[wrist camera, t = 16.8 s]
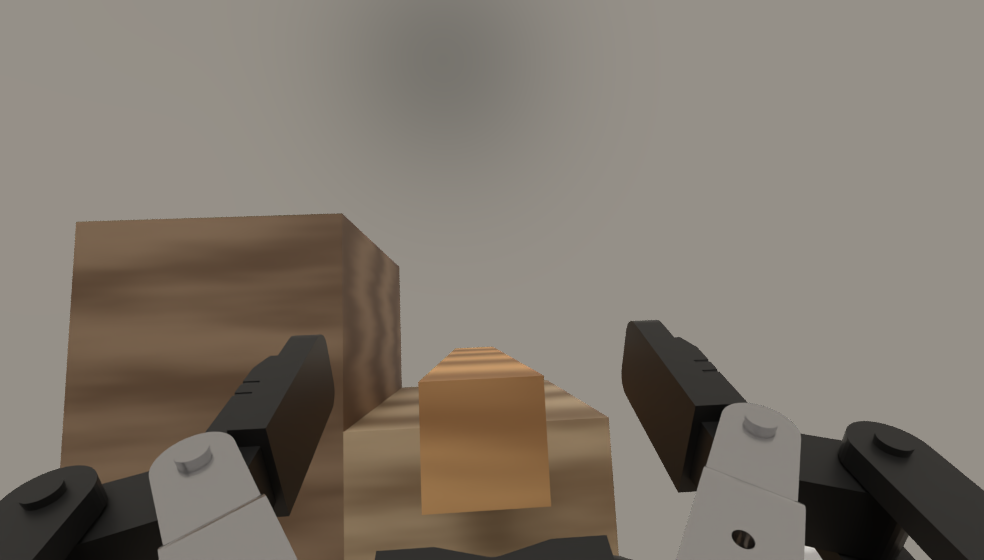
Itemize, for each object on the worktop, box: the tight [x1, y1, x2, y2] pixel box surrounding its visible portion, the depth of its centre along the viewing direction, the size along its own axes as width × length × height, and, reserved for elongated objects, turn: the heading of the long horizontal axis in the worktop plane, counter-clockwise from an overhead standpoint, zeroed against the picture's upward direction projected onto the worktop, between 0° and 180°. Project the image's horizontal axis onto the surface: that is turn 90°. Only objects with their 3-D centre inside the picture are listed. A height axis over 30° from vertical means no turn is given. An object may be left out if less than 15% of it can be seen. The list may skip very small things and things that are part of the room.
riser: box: [60, 214, 619, 560], centre depth 28 cm, size 17×24×32 cm
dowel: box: [418, 347, 551, 515], centre depth 24 cm, size 26×3×3 cm, turn 3°
